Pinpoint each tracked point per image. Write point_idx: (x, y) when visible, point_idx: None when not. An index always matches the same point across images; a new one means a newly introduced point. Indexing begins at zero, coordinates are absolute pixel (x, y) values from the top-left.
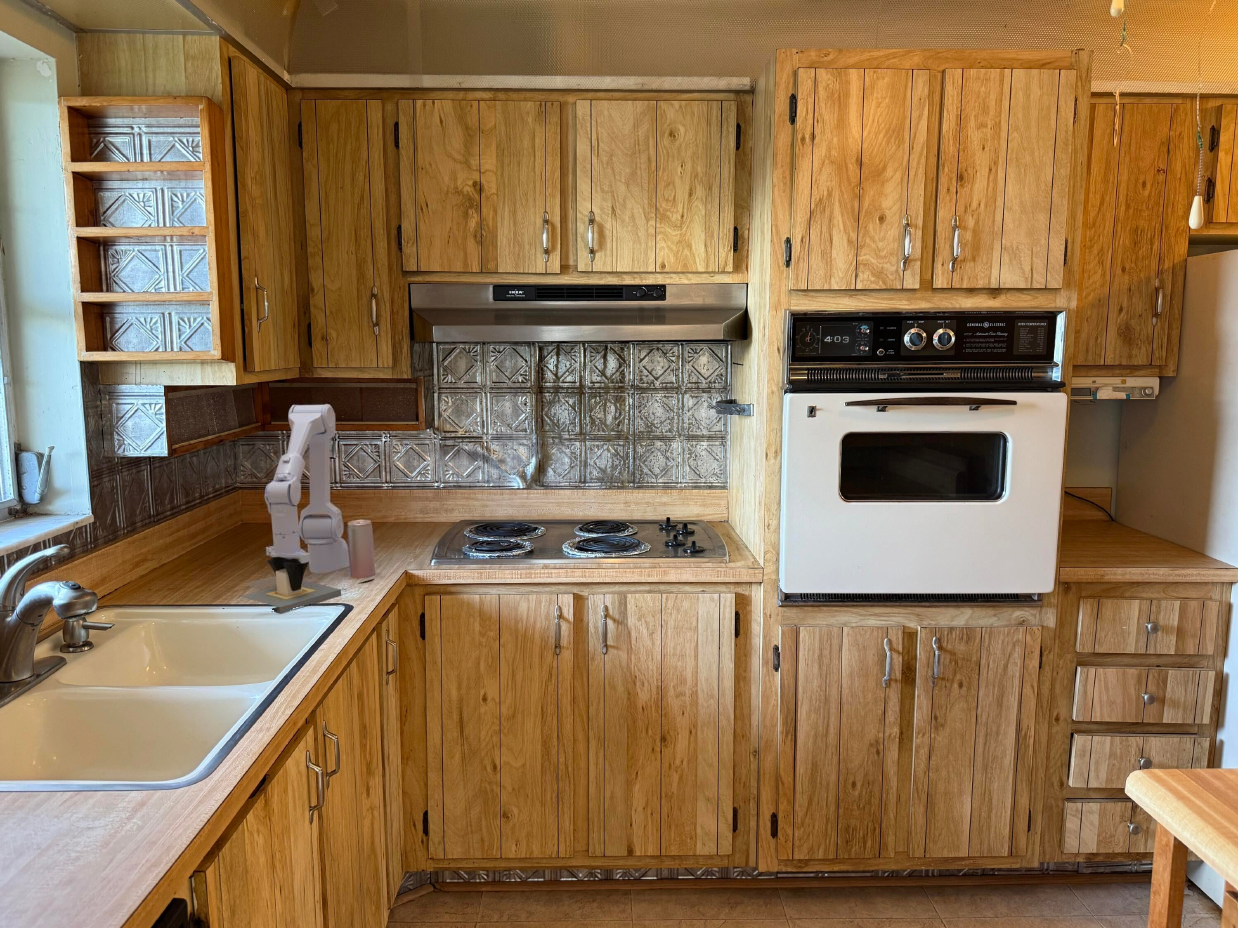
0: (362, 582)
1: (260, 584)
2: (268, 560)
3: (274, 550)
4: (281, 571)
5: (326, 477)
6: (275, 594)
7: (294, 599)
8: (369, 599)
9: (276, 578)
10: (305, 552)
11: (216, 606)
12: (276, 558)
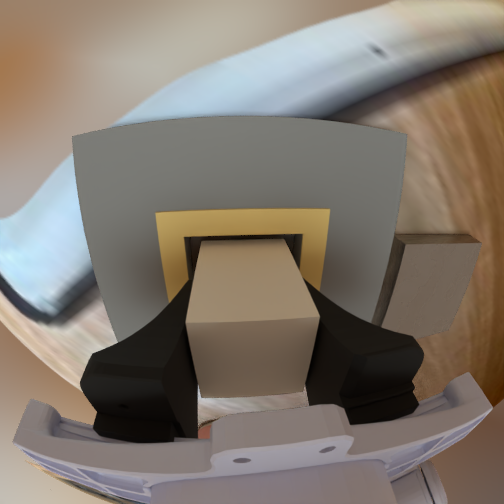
0: (203, 425)
1: (439, 272)
2: (411, 350)
3: (343, 481)
4: (271, 333)
5: None
6: (274, 226)
7: (127, 236)
8: (61, 365)
9: (303, 285)
10: (86, 484)
11: (417, 62)
12: (373, 399)
